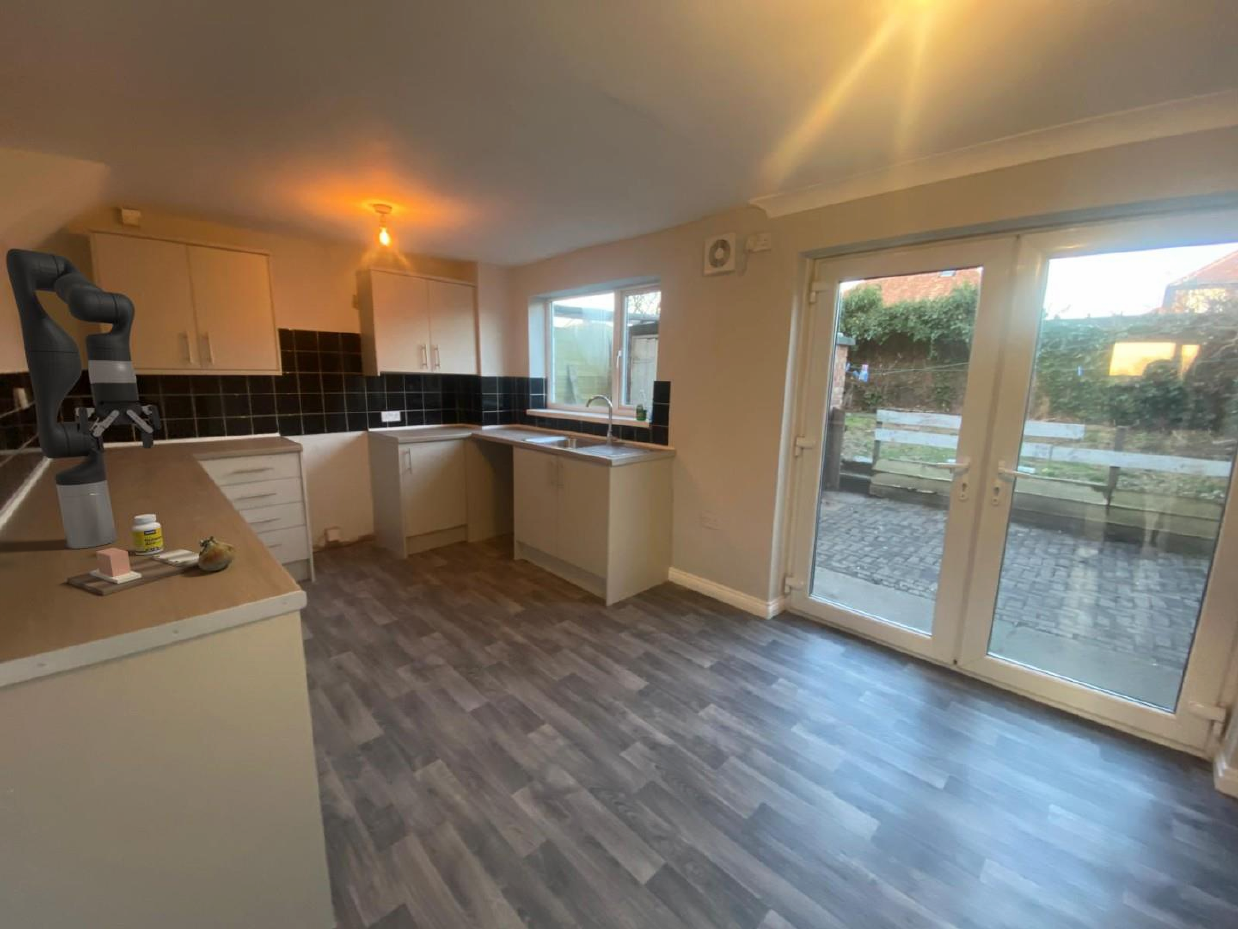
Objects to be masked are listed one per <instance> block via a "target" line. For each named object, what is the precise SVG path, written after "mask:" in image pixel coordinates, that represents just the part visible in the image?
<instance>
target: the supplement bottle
mask: <svg viewBox="0 0 1238 929" xmlns="http://www.w3.org/2000/svg"><path fill="white" fill-rule="evenodd" d="M156 521H157V516H156V514H152V513H151V514H150V513H148V514H147V513H146V514H140V515H136V516H135V517H134V523H135V525H133V526H132V528H131V530H132V532H131V533H132V537H133V538H132V540H133V546H134V551H135V555H137V556H148V555H156V554H157V553H158V554H159V553H161V552H162V551H164V548H165V547H164V540H163V533H162V526H161V524H160V523H159V522H158V521H157V522H156Z"/></svg>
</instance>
